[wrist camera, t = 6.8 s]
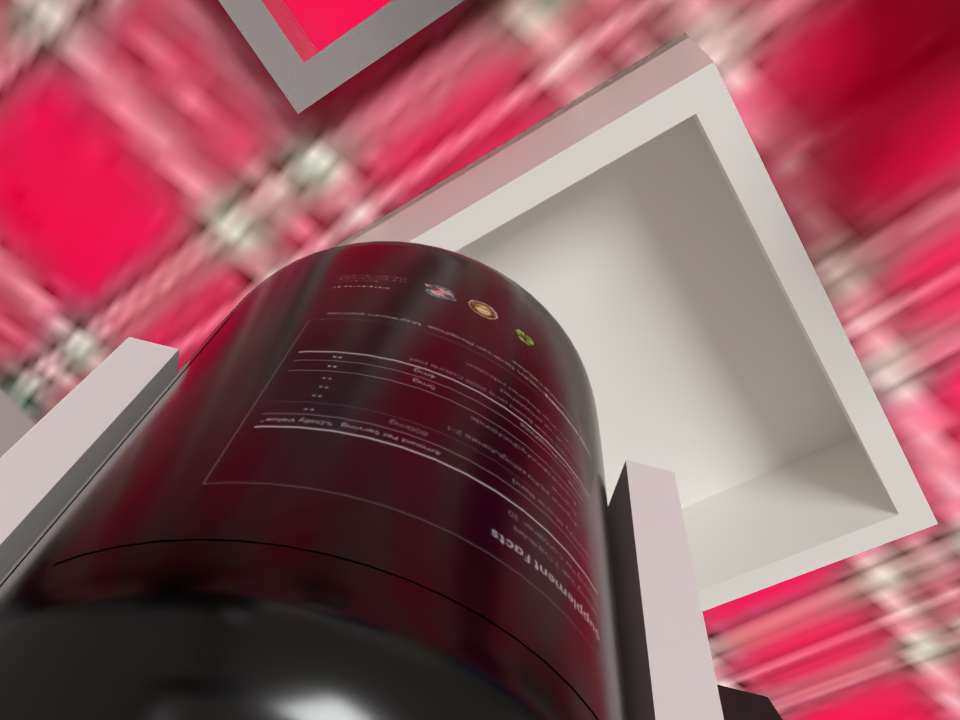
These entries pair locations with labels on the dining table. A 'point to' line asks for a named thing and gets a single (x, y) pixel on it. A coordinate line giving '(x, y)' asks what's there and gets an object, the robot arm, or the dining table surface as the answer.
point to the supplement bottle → (338, 518)
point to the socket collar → (314, 73)
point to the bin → (687, 319)
